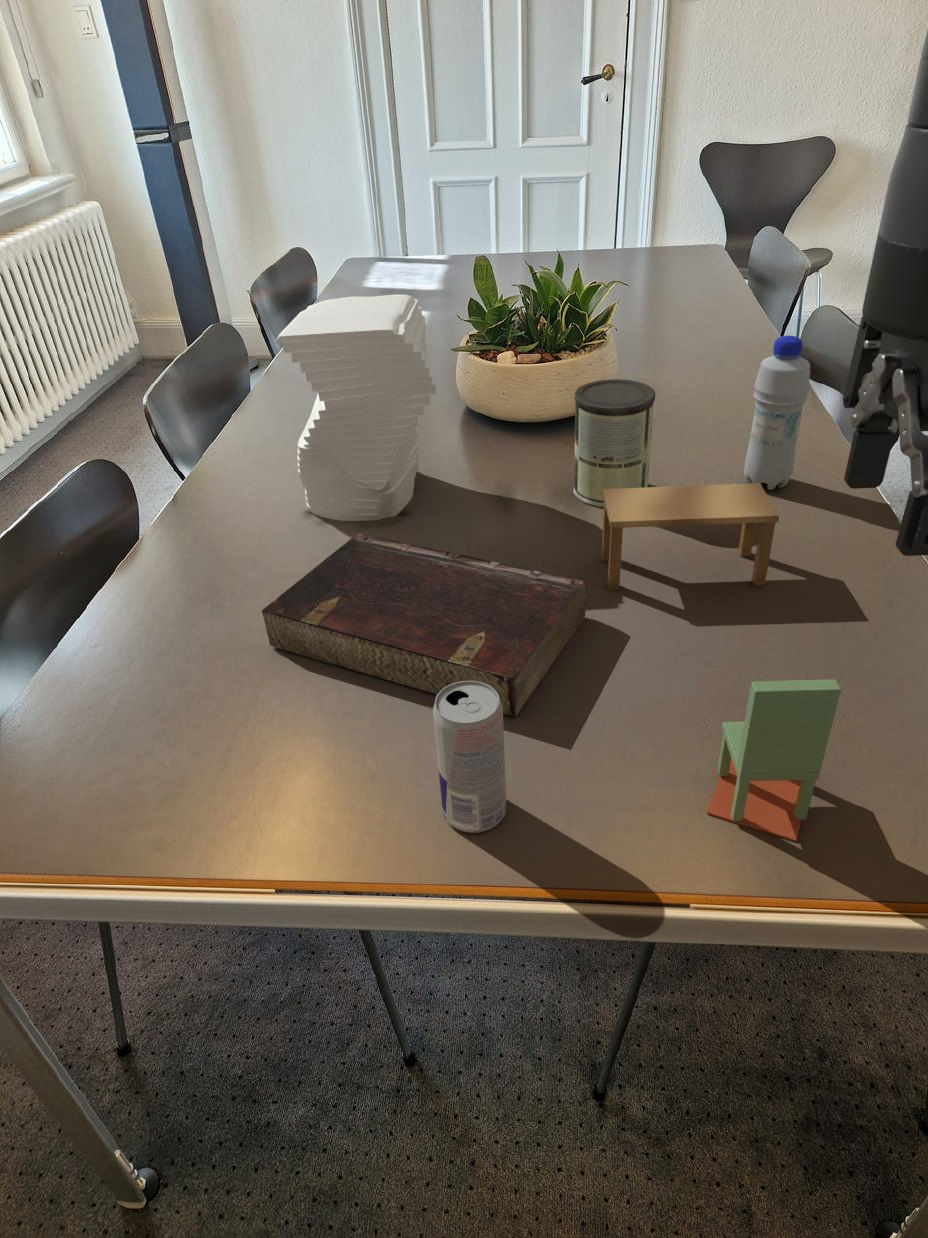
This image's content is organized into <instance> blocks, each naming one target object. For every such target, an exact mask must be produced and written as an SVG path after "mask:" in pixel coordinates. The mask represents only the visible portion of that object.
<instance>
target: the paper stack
mask: <svg viewBox="0 0 928 1238" xmlns="http://www.w3.org/2000/svg"><path fill="white" fill-rule="evenodd" d="M426 327H427V326H426V316H425V314H423V311H422V307H421V306H419V301H418V298H414V296H413V295H409V294H397V293H396V294H384V295H373V296H361V295H360V296H358V295H357V296H355V295H354V296H345V297H338V298H337V297H336V298H330V299H325V300H322V301H319V302H317V303H314V304H311V305H308V306H307V307H306V309H303V310H302V311H300V312H299V313H298V314H297V315H296V316H294V318H293V319H292V320H291V321H290V322H289V324H287V326H285V328H284V329H282V331H281V332H280V333H279V334H278V336H277V337H276V339H275V340H274V343H275V344H282V351H283V354H288V353H290V356H291V363H292V364H295V363H297V364H298V363H299V366H300V372H301V373H305V374H304V375H305V379H306V383H310V385H311V386H310V387H311V391H312V392H313V393H315V392H316V393H317V395H316V399H315V401H314V404H313V406H312V410H311V411H310V415H309V417H308V420H307V422H306V425H305V426H304V429H303V431H302V433H301V435H300V436H299V438H298V441H297V447H298V448H297V456H296V457H297V458H296V459H297V463H296V466H297V468H298V469H297V472H298V475H299V480H300V482H301V485H302V487H303V488H304V489H305V490H304V494H305V501H306V505H307V508H308V511H309V512H310V513H312V514H313V515H315V516H316V517H317V516H318V517H319V518H320V517H321V518H323V519H328V520H332V521H341V522H370V521H371V522H373V521H380V520H382V519H385V518H393V517H396V516H397V515H399V514H400V513H401V512H402V510H403V509H404V508H405V507H406V506H407V505H408V504H409V503H410V501H411V500H412V498H413V496H414V487H415V478H416V476H417V471H418V468H419V460H420V452H421V448H420V440H419V439H418V435H419V434H418V425H419V422H418V421H419V420H418V419H419V418H418V417H419V416H423V415H424V413H425V412H424V406H427V405H428V406H429V405H430V402H431V400H430V399H431V398H430V395H436V394H437V388H436V387H437V386H436V382H435V378H434V374H433V373H432V368H431V365H430V361H429V358H428V351H427V344H426V343H427V342H426V339H427V337H426Z"/></svg>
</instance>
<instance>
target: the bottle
mask: <svg viewBox="0 0 928 1238" xmlns="http://www.w3.org/2000/svg"><path fill="white" fill-rule="evenodd" d="M773 343H774V344H773V348H772V356H768V357H766V358H764V359H762V361H761V363H760V367H759V370H758V372H757V377H756V379H755V383H754V392H753V397H754V399H755V402H754V403H755V404H754V410H753V417H752V424H751V431H750V436H749V437H750V438H749V443H748V447H747V450H746V456H745V461H744V471H743V472H744V473H743V474H744V479H745V481H746V482H747V484H750V483H760V484H761V485H762V484H766V485H767V486H766V487H767V490H768V491H773V490H774V489H775V488H776V486H777V488H779V489H782V488H784V487H785V486H786V485H787V484H788V483H789V480H790V478H791V476H792V475H793V473H794V472H793V471H794V467H795V458H796V448H797V441H798V436H799V431H800V425H801V420H802V414H803V408H804V404H805V402H807V400H808V393H809V391H810V389H811V388H810V387H811V386H810V379H811V378H810V377H811V363H810V362H809V361H808V360H807V359H805V358H803V357H801V356H802V355H801V354H802V350H803V341H802V339H801V338H800V337H798V336H795V335H781V336H779V337H777V339H775V341H774V342H773Z"/></svg>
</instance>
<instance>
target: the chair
mask: <svg viewBox="0 0 928 1238" xmlns="http://www.w3.org/2000/svg"><path fill="white" fill-rule="evenodd" d="M841 692H842V688H841V686H840V685H839V683H838V680H837V679H831V678H829V679H799V680H797V679H796V680H761V681H760V680H759V681H751V683H750V688H749V694H748V699H747V706H746V711H745V717H744V721H743V720H742V721H741V720H740V721H723V722H722V728H721V730H722V736H721V742H720V749H719V754H718V761H717V768H716V771H717V774H718V777H720V776H728V774H729V768H730V763H731V758H732V761H733V764H734V767H735V770H736V773H737V781H736V787H735V793H734V798H733V804H732V809H731V817H732V820H733V821H742V820H743V815H744V810H745V805H746V800H747V794H748V789H749V784H750V781H779V780H801V784H800V788H799V792H798V796H797V800H796V805H795V809H794V815H795V818H796V820H801V821H806V820H807V818H808V813H809V809H810V805H811V802H812V797H813V795H814V790H815V786H816V783H817V780H819V777H820V775H821V770H822V767H823V766H822V765H823V763H824V758H825V754H826V751H827V746H828V743H829V739H830V735H831V731H832V727H833V723H834V719H835V715H836V713H837V707H838V705H839V704H838V703H839V700H840V696H841Z"/></svg>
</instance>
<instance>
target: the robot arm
mask: <svg viewBox="0 0 928 1238" xmlns="http://www.w3.org/2000/svg"><path fill="white" fill-rule="evenodd" d="M923 40H924V41H923V44H922V48H921V52H920V59H919V61H918V62H919V63H918V68H917V73H916V77H915V82H914V87H913V92H912V96H911V100H910V106H909V111H908V115H907V124H906V125H905V128H904V131H903V136H902V139H901V141H900V145H899V148H898V151H897V154H896V156H895V160H894V163H893V166H892V168H891V171H890V176H889V180H888V184H887V187H886V194H885V197H884V203H883V208H882V213H881V217H880V222H879V226H878V227H879V228H878V231H877V236H876V241H875V247H874V251H873V256H872V260H871V265H870V270H869V273H868V274H869V275H868V280H867V283H866V284H867V285H866V289H865V294H864V299H863V302H862V303H863V304H862V310H861V312H862V313H861V314H862V316H861V318H860V322H859V326H858V332H857V335H856V339H855V343H854V347H853V352H852V357H851V362H850V366H849V370H848V374H847V378H846V383H845V387H844V391H843V395H842V403H843V407H844V409H852V411H851V414H850V419H849V420H850V425H851V428H852V429H855V430H854V431H853V436H852V440H851V445H850V451H849V454H848V459H847V462H846V463H847V464H846V467H845V468H846V469H845V473H844V477H843V480H844V482H845V484H846V485H847V486H848V487H849V488H850V489H852V490H853V489H854V490H855V489H875V488H878V487H880V486H881V485H882V484H883V482H884V478H885V474H886V471H887V466H888V462H889V459H890V454H891V451H892V447H893V442H894V438H895V434H896V433H895V432H894V431H893V430H892V429H891V428H893V427H896V426H898V431H899V432H898V435H899V450H900V452H901V453H902V454H903V455H904V456H906V457H908V458H909V463H910V481H911V490H910V491H909V492H908V497H907V500H906V504H905V508H904V511H903V515H902V518H901V522H900V526H899V529H898V533H897V538H896V541H895V547H896V548H897V550H898V551H899V552H900V553H901V555H903V556H905V557H914V556H915V557H916V556H920V557H921V556H928V434H927V435H926V434H924V433H923V432H928V28H927V29H926V33H925V37H924V39H923ZM867 374H868V375H867ZM865 375H867V377H866V379H865V380H864V377H865ZM863 380H864V382H863Z"/></svg>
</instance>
